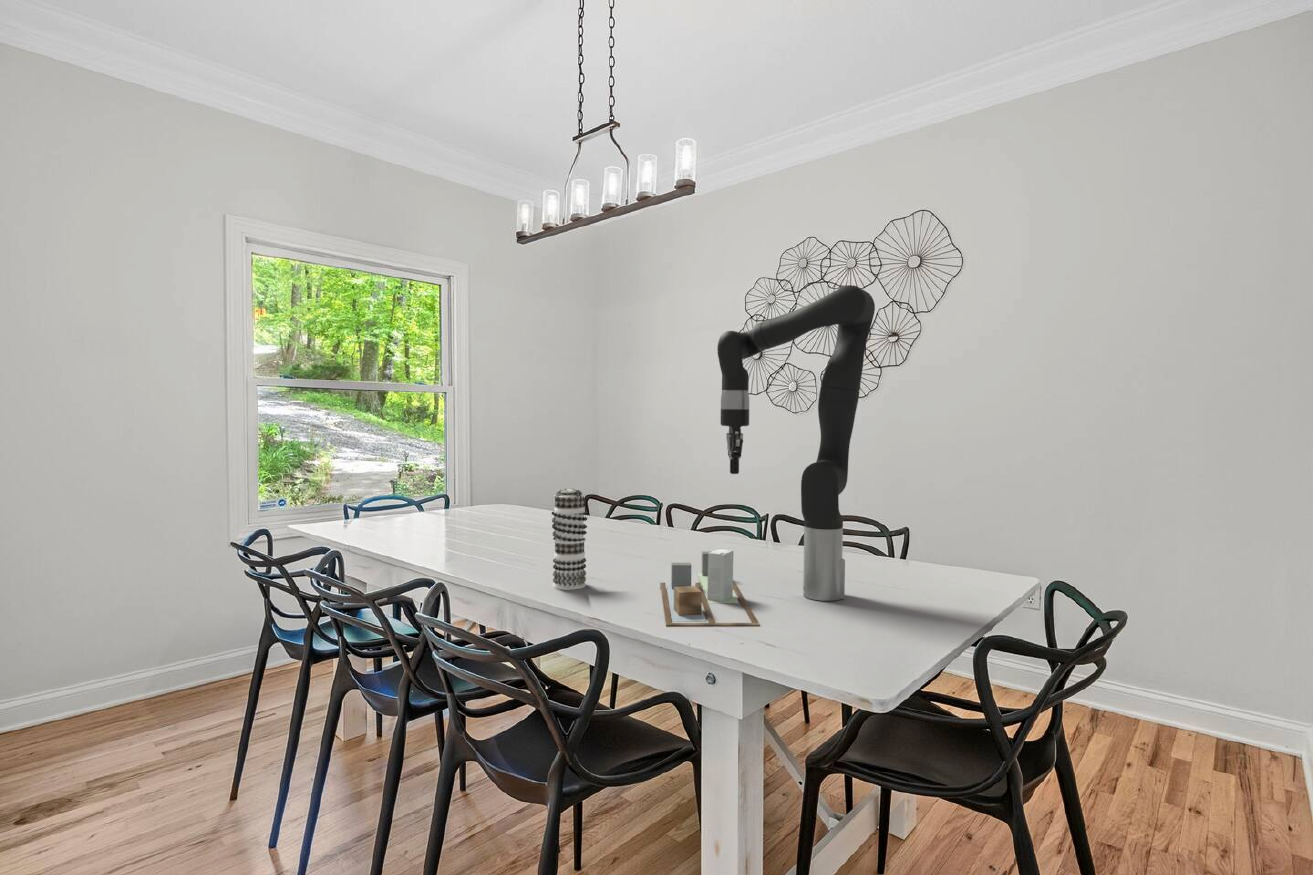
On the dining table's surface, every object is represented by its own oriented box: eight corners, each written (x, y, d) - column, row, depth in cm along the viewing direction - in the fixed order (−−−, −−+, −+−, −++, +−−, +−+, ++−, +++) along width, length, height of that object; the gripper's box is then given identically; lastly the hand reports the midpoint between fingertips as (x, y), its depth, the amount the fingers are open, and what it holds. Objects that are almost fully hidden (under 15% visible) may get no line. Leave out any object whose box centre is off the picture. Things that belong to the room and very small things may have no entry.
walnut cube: (695, 608, 152) (695, 585, 152) (701, 614, 147) (701, 591, 147) (673, 609, 151) (673, 586, 151) (678, 615, 146) (679, 592, 146)
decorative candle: (585, 590, 171) (585, 491, 171) (548, 589, 172) (548, 491, 171) (589, 581, 181) (589, 487, 180) (554, 581, 181) (554, 487, 180)
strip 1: (694, 589, 172) (694, 562, 172) (706, 626, 142) (706, 592, 142) (667, 589, 172) (667, 562, 172) (673, 626, 142) (673, 592, 142)
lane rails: (735, 588, 174) (735, 582, 174) (759, 631, 139) (759, 624, 139) (660, 588, 174) (660, 582, 174) (666, 632, 139) (666, 624, 139)
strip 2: (722, 576, 186) (722, 551, 186) (738, 607, 156) (739, 576, 156) (697, 576, 186) (698, 551, 186) (709, 607, 156) (709, 577, 156)
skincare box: (716, 598, 164) (716, 548, 164) (733, 600, 162) (734, 549, 162) (706, 604, 159) (706, 552, 159) (724, 606, 157) (724, 554, 156)
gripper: (753, 407, 172) (752, 475, 173) (745, 408, 186) (744, 471, 186) (723, 407, 172) (723, 475, 173) (717, 408, 185) (717, 471, 186)
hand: (734, 473), depth 179 cm, fingers closed
